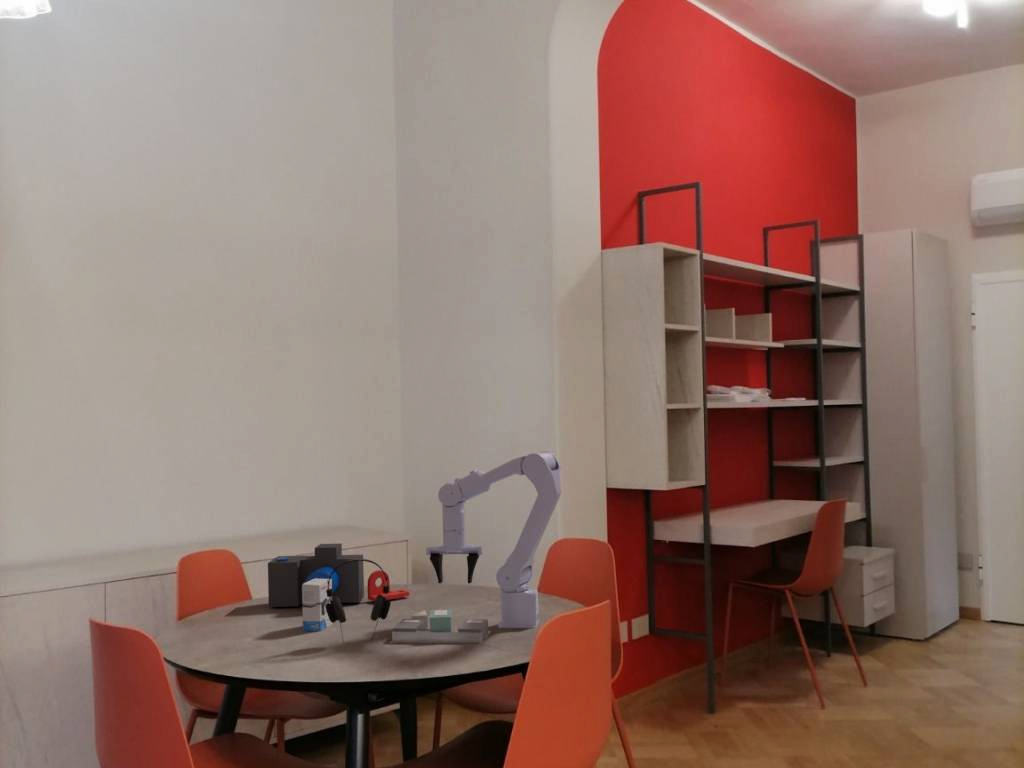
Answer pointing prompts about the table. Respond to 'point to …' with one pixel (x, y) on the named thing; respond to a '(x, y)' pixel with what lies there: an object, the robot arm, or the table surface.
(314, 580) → the ink box
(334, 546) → the camera
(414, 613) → the block
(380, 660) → the table surface
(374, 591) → the bracket
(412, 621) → the mounted modules
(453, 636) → the rail
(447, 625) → the teal module
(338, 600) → the headphones
